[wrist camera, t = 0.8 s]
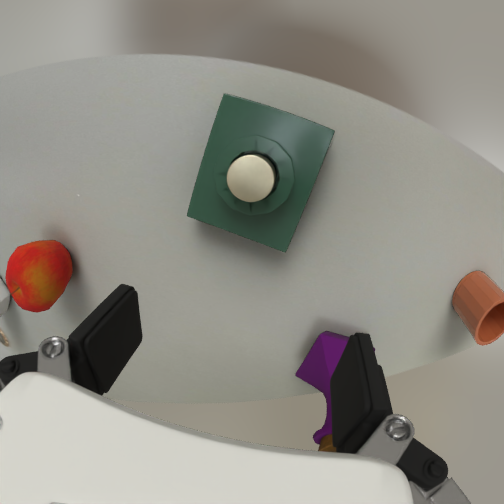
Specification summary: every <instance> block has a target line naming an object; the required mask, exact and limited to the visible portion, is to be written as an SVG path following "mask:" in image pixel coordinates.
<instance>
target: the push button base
mask: <svg viewBox="0 0 504 504" xmlns="http://www.w3.org/2000/svg"><path fill="white" fill-rule="evenodd" d="M334 132H335V131H334V130H332V129H330V128H327V127H325V126H322V125H320V124H317V123H315V122H312V121H310V120H307V119H304V118H302V117H299V116H296V115H294V114H291V113H288V112H285V111H282V110H279V109H276V108H273V107H270V106H267V105H264V104H261V103H257V102H254V101H251V100H247V99H244V98H240V97H237V96H233V95H229V94H224V95H223V98H222V100H221V103H220V106H219V109H218V112H217V115H216V118H215V121H214V124H213V127H212V130H211V133H210V136H209V139H208V143H207V146H206V149H205V152H204V156H203V159H202V162H201V166H200V169H199V172H198V176H197V179H196V183H195V187H194V190H193V194H192V198H191V201H190V205H189V209H188V213H187V216H188V217H191V218H194V219H196V220H199V221H202V222H204V223H207V224H210V225H213V226H215V227H218V228H221V229H224V230H226V231H229V232H232V233H234V234H237V235H240V236H242V237H245V238H248V239H250V240H253V241H256V242H258V243H261V244H264V245H266V246H269V247H272V248H274V249H277V250H280V251H282V252H286V251H287V249H288V246H289V244H290V242H291V239H292V237H293V234H294V232H295V230H296V227H297V225H298V223H299V220H300V218H301V215H302V213H303V210H304V208H305V206H306V203H307V201H308V198H309V196H310V193H311V191H312V188H313V186H314V183H315V181H316V178H317V176H318V173H319V171H320V168H321V166H322V163H323V161H324V158H325V156H326V153H327V151H328V148H329V145H330V143H331V140H332V138H333V135H334ZM248 154H259V155H262V156H264V157H266V158H267V159H269V160H270V161H271V163H272V164H273V166H274V168H275V171H276V180H275V184H274V186H273V188H272V190H271V192H270V193H269V194H268V195H267V196H266V197H265V198H263V199H262V200H259V201H256V202H246V201H243V200H240V199H239V198H237V197H236V196H235V195H234V194H233V193H232V192H231V191H230V189H229V187H228V184H227V173H228V169H229V167H230V166H231V164H232V163H233V162H234V161H235V160H236V159H238V158H240V157H242V156H245V155H248Z"/></svg>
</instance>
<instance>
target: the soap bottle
mask: <svg viewBox="0 0 504 504" xmlns="http://www.w3.org/2000/svg"><path fill="white" fill-rule="evenodd" d="M9 301H10V292H9V290H8V288H7V287H6V285H5V284H4V282H3V281H2V279H1V278H0V317H1V316H2V315H3V314H5V313H6V311H7V310H8V305H9Z"/></svg>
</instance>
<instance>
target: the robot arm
mask: <svg viewBox="0 0 504 504" xmlns="http://www.w3.org/2000/svg"><path fill="white" fill-rule="evenodd" d="M141 341H142V329H141V321H140V313H139V304H138V294H137V291H135V289H134V287H132V286H128V285H125V284H121V285H119V286H118V287H117V288H116V289H115V290H114V291H113V292H112V293H111V294H110V295H109V296H108V297H107V298H106V299H105V300H104V301H103V302H102V303H101V304H100V305H99V306H98V307H97V308H96V309H95V310H94V311H93V312H92V313H91V314H90V315H89V316H88V317H87V318H86V319H85V320H84V321H83V322H82V323H81V324H80V325H79V326H78V327H77V328H76V329H75V330H74V331H73V332H72V333H71V334H70V335H69V338H68V339H67V340H65V339H63V338H62V337H58V336H53V337H49V338H47V339H45V340H44V341H42V342H41V344H40V345H39V348H38V351H37V352H31V353H25V354H19V355H13V356H8V357H5V358H4V359H2V360H1V361H0V504H471V503H470V501H469V500H468V498H467V497H466V496H465V495H464V493H463V492H462V491H461V489H460V488H459V486H458V485H457V484H456V483H455V481H454V480H453V479H452V478H450V479H448V477H447V474H448V467H447V464H446V462H445V461H444V460H443V459H442V458H441V457H439V456H438V455H437V454H435V453H434V452H432V451H431V450H430V449H428V448H427V447H425V446H424V445H423V444H421V443H420V442H419V441H417V440H416V439H414V438H413V436H414V427H413V424H412V423H411V421H410V420H409V419H408V418H407V417H405V416H403V415H399V414H393V412H392V407H391V403H390V398H389V394H388V389H387V385H386V381H385V377H384V374H383V370H382V367H381V366H380V365H378V364H377V360H376V356H375V352H374V349H373V345H372V341H371V338H370V335H369V334H365V333H355V335H351V336H350V338H349V340H348V342H347V345H346V347H345V349H344V351H343V353H342V356H341V358H340V360H339V362H338V364H337V366H336V368H335V370H334V372H333V374H332V376H331V379H330V394H331V414H332V444H333V447H336V452H323V451H309V450H300V449H292V448H283V447H276V446H268V445H262V444H256V443H251V442H245V441H240V440H235V439H231V438H226V437H222V436H217V435H213V434H209V433H205V432H202V431H198V430H194V429H191V428H187V427H184V426H180V425H177V424H174V423H171V422H168V421H165V420H162V419H159V418H156V417H153V416H150V415H147V414H145V413H142V412H139V411H137V410H134V409H131V408H129V407H127V406H124V405H122V404H119V403H117V402H115V401H112V400H110V399H108V398H106V397H103V396H102V395H103V393H107V392H108V391H109V389H110V388H111V386H112V385H113V383H114V382H115V380H116V379H117V377H118V376H119V374H120V373H121V371H122V370H123V368H124V367H125V365H126V364H127V362H128V361H129V359H130V358H131V356H132V355H133V354H134V352H135V351H136V349H137V348H138V346H139V345H140V343H141Z"/></svg>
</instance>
